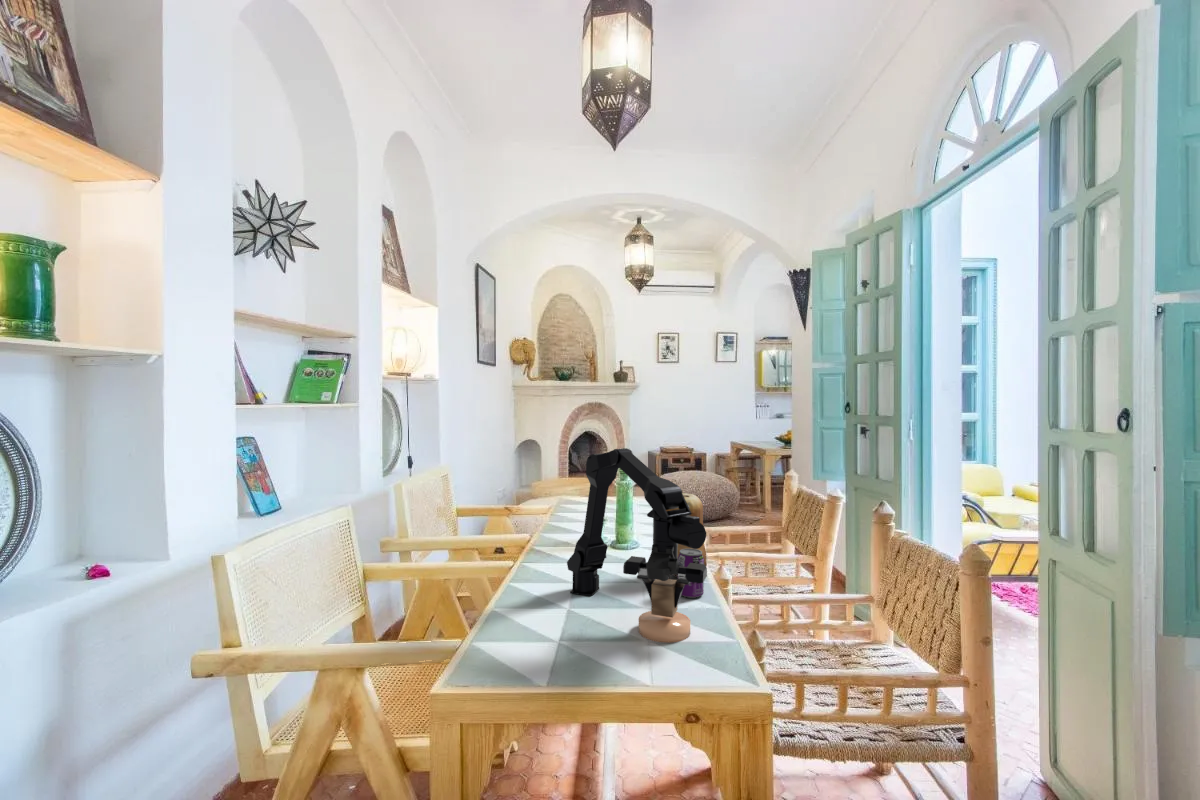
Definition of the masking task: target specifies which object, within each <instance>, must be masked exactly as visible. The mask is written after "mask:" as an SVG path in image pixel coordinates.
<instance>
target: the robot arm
mask: <svg viewBox="0 0 1200 800" xmlns="http://www.w3.org/2000/svg"><path fill="white" fill-rule="evenodd" d="M585 466H586V469H585V476H586V477H587V479H588V481H589V492H588V499H587V507H586V512H585V513H586V514H585V519H584V520H585V521H584V526H583V527H584V528H583V533H582V535H581V536H580V538H579V539H578V540H577V541H576V543H575V546H574V550H573V553H572V555H571V556H570V557H569V559H568V560H567V561H566V566H567V570H568V571H570V572H572V589H571V590H570V591H569V592H570V594H574V595H581V596H590V597H591V596H593V595H595V594H596V593H597V592H598V590H600V575H599V574H598V569H600V570H601V569H603V565H604V562H605V559H607V550H608V544H607V543H605V541H604V538H602V533H603V529H604V527H603V526H604V521H605V513H606V509H607V508H606V507H607V501H608V500H607V499H608V493H609V488H610V486H611V484H612V483H613V482H614V480H615V479H616V477H617V475H618V471H619V469H620V470H621V471H622V472H623V473H624V474H625V475H626V476H627V477H629V479H631V480H632V482H634V483H635V484H636V485H637V486H638V488H640V489H641V490H642V492H643V495H644V496H643V497H644V499H645V501H646V502H647V504H648V505H649V506H650V507H651V510H650V511H649V512H648V513H647V514H646V516H647V517H648V518H651V519H652V521H653V522H652V546H651V553H650V555H649V558H648V561H647V560H646V557H643V556H635V555H631V556H630V557H629V558H628V559H627V560H626V561H624V563H623V566H622V567H623V568H622V569H623V574H625V575H631V576H636V578H637V579H639V580H641V582H643V584H644V585H645V588H646V590H647V594H648V596H649V599H650V600H651V596H652V583H653V582H654V581H655V580H656V579H658V580H661V581H666V580H668V579H670V576H674V575H678V577H679V578H676V579H675V580H676V591H675V600H674V604H675V608H676V607H677V608H678V605H679V602H680V600H681V597H682V595H681V594H682V591H683V588H684V586H685V585H688V584H689V583H690V582H695V583H703V582H704V583H705V580H706V578H707V577H708V567H707V566H705V564H697V563H690V564H689V565H688V566H687V567H682V566H679V562H678V559H677V553H678V544H680V545H684V546H687V547H690V548H693V549H698V548H700V547H701V546H702V545H703V544H704V545H705V541H706V539H707V531H706V528H705V525H704V524H703V525H702V524H701V523H700V518H699V517H696V516H689V515H691V514H692V513H691V511H690V509H689V506H688V504H687V502H686V500H685V498H684V496H683V494H682V493H683V490H682V489H681V487H680V486H679V485H678V484H676V483H674V482H673V481H671V480H669V479H666V478H663V477H660V476H658V475H657V474H656V473H654V472H653V471H652V470H651V469H650V468H649V467H648V466H647V465H646V464H645V463H644V462H642V460H640V459H639V458H638V457H636V456H635V455H634V452H633V451H632V450H631V449H629V448H614V449H612V450H610V451H606V452H604V453H592V454H591V455H589V456H587V459H586V463H585ZM676 508H679V509H677V510H671V511H666V510H670V509H676Z"/></svg>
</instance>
